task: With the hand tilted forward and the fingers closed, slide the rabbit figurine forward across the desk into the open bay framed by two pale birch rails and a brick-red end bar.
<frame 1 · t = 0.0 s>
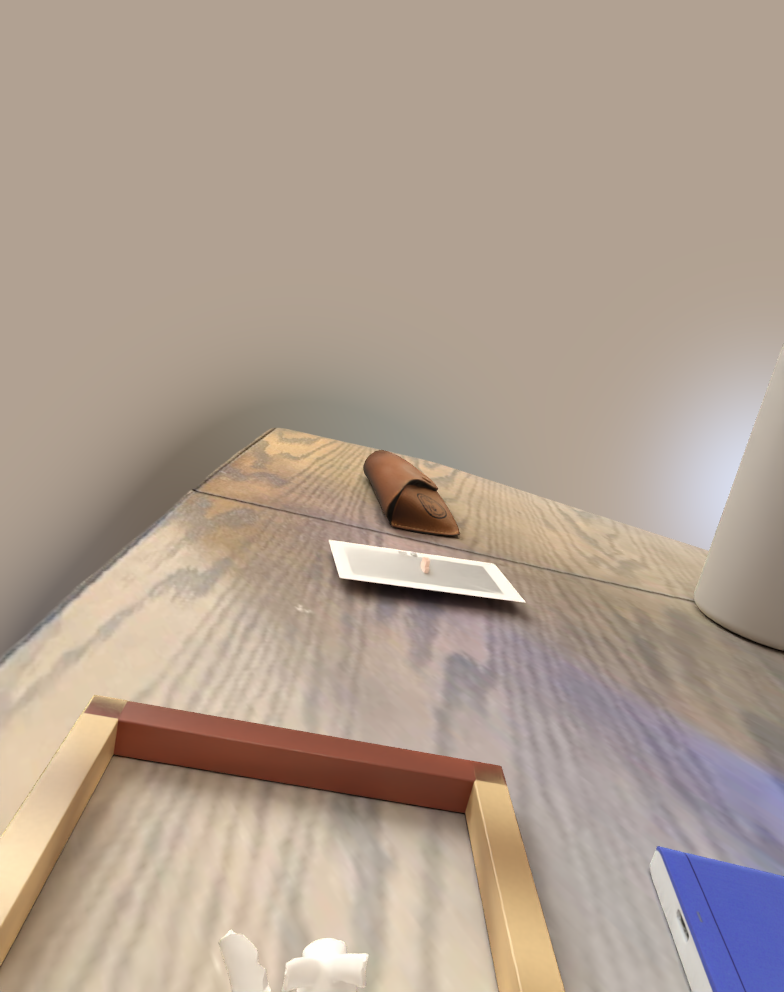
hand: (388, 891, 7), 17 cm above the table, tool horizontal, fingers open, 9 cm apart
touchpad: (420, 584, 61), on the table
cylinder vase: (759, 626, 70), on the table
sunglasses case: (406, 506, 82), on the table
bay: (281, 867, 29), on the table
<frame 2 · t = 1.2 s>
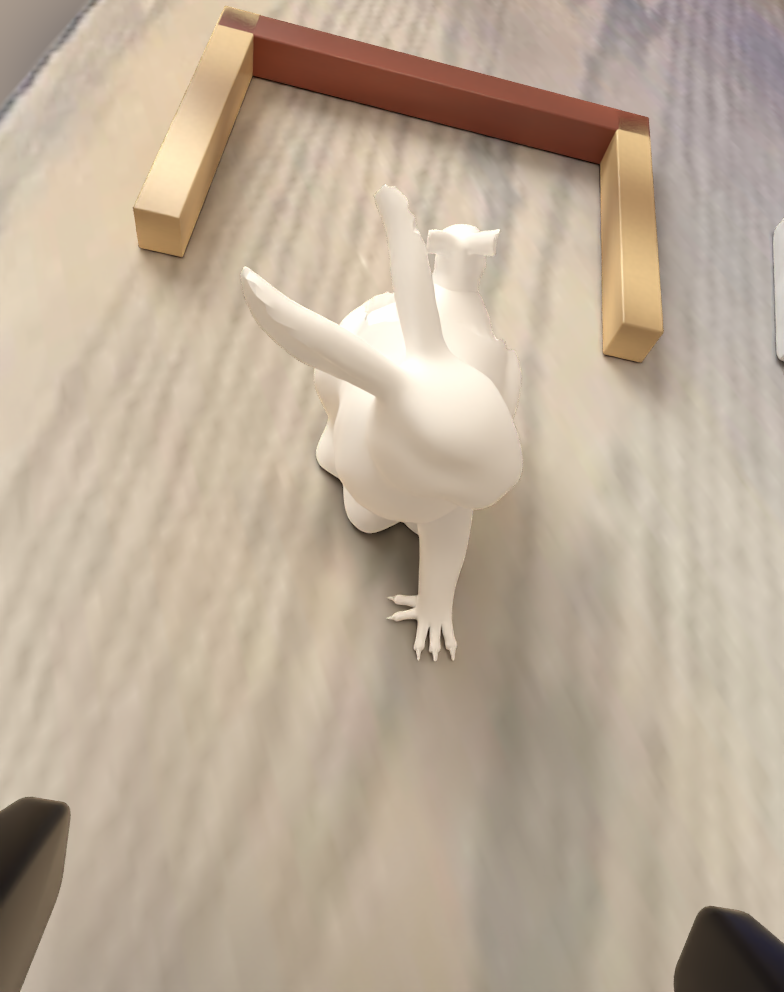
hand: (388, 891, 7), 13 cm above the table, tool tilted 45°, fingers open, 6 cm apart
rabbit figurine: (370, 468, 24), on the table
bay: (417, 193, 31), on the table
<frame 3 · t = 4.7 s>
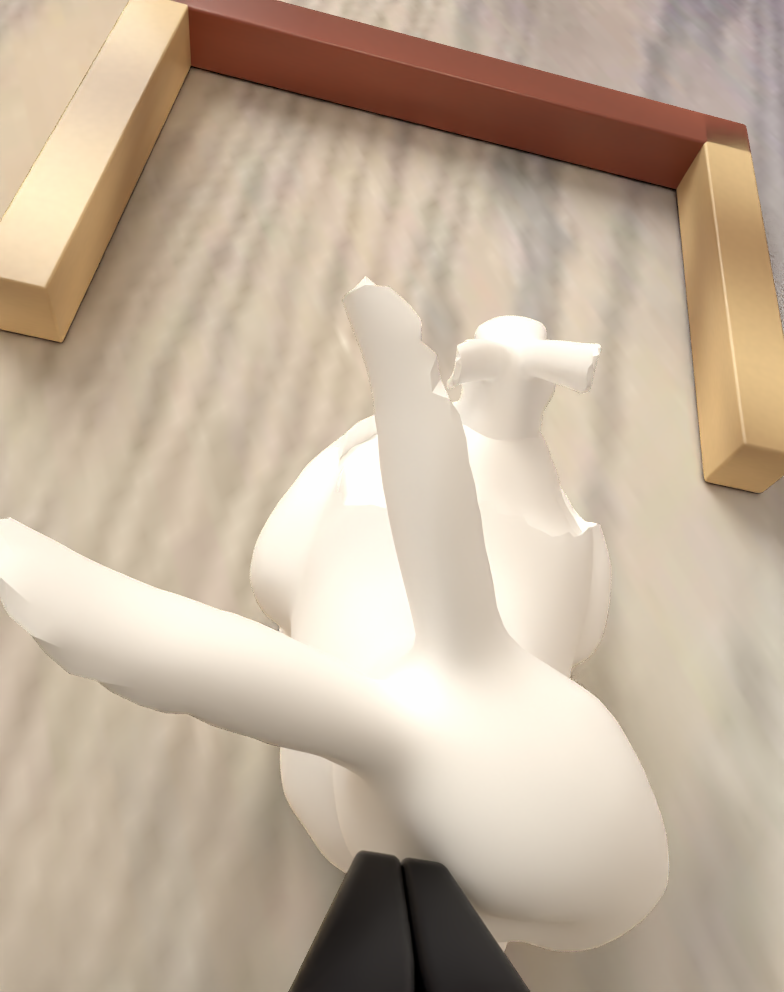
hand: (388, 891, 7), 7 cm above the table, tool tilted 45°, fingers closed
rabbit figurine: (352, 693, 15), on the table, touching gripper
bay: (424, 234, 21), on the table
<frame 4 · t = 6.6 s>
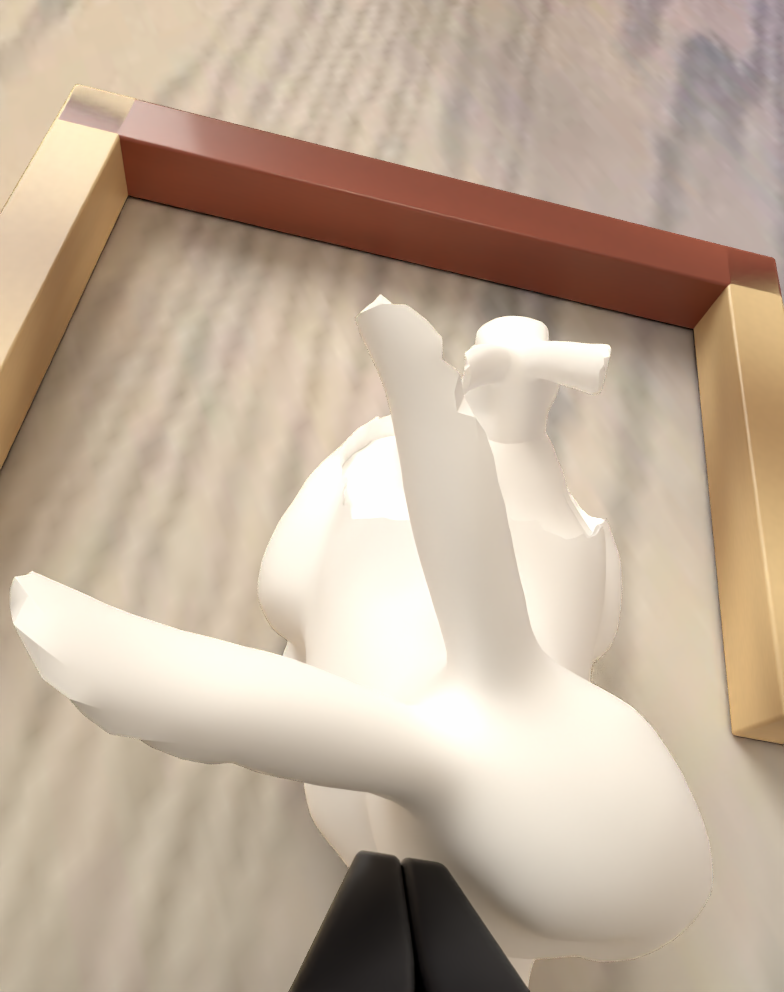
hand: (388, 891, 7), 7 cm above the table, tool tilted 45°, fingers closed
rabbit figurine: (364, 702, 15), on the table
bay: (398, 407, 18), on the table
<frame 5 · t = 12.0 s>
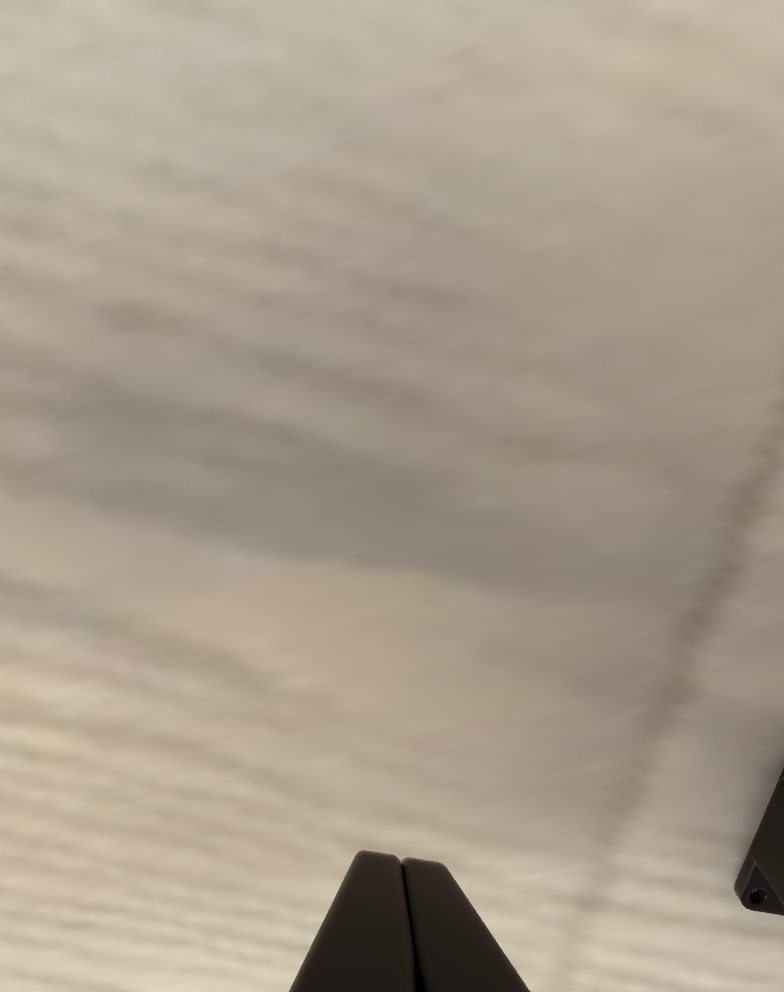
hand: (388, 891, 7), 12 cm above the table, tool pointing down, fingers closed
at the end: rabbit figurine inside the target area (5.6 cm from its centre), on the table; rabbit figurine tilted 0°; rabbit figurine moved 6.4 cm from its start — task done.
